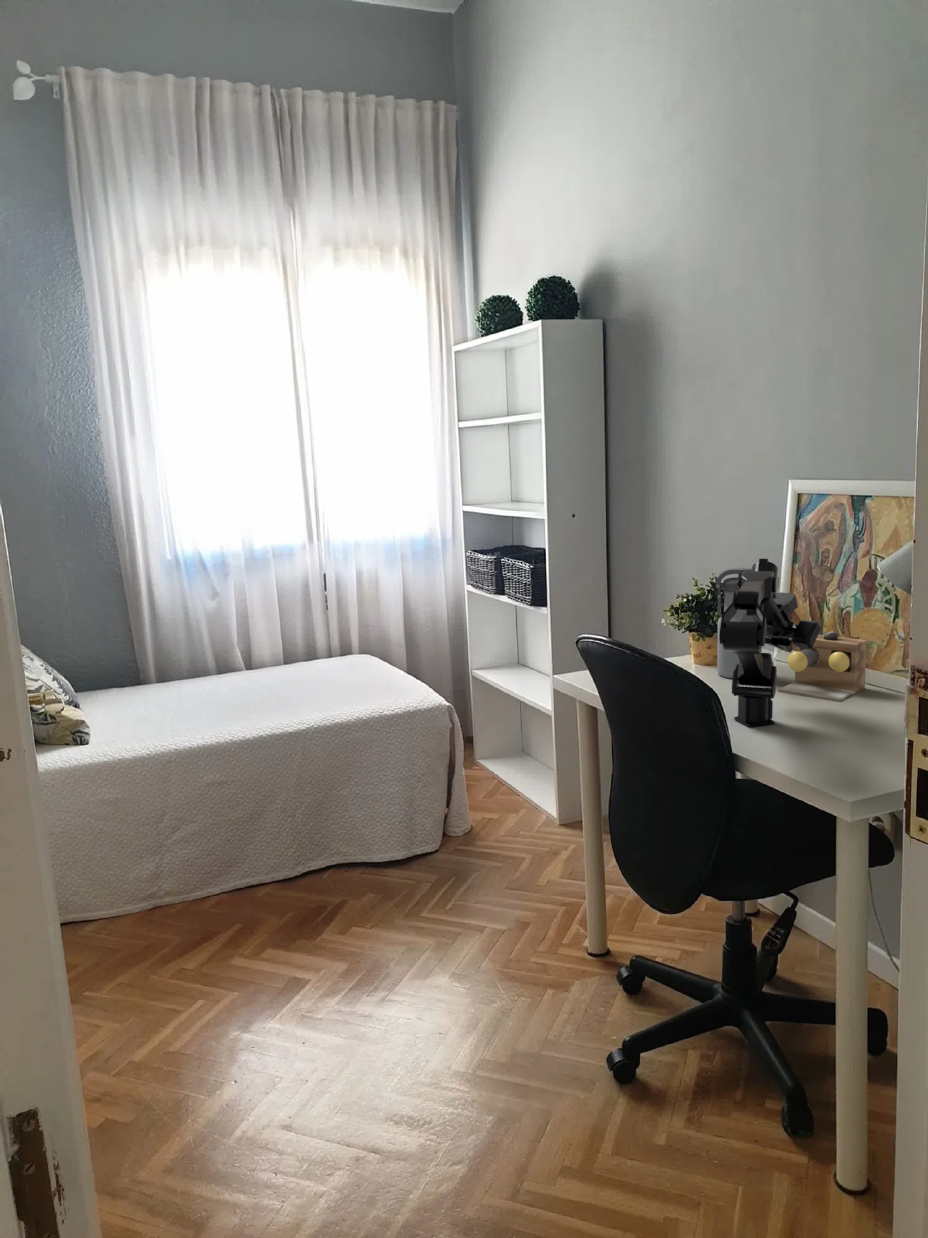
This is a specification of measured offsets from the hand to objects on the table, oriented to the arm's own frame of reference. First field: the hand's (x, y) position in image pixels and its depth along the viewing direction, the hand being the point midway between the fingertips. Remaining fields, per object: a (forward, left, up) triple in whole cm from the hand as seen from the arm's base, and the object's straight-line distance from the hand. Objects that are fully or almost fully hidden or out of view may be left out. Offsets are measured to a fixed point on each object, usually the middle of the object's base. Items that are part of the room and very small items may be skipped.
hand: (790, 650), depth 223 cm
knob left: (+9, +7, -7) cm, 13 cm away
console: (+12, +5, -12) cm, 18 cm away
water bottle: (+1, +26, -12) cm, 29 cm away
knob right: (+17, +3, -7) cm, 19 cm away
